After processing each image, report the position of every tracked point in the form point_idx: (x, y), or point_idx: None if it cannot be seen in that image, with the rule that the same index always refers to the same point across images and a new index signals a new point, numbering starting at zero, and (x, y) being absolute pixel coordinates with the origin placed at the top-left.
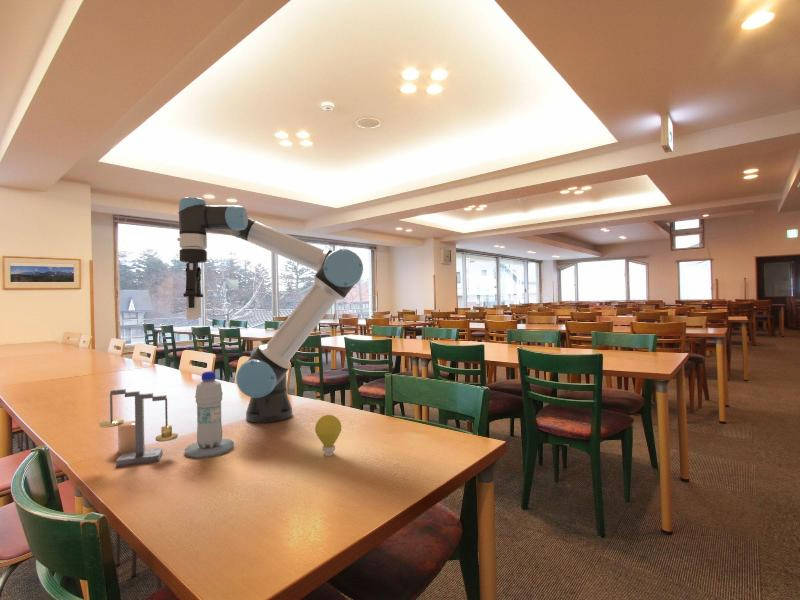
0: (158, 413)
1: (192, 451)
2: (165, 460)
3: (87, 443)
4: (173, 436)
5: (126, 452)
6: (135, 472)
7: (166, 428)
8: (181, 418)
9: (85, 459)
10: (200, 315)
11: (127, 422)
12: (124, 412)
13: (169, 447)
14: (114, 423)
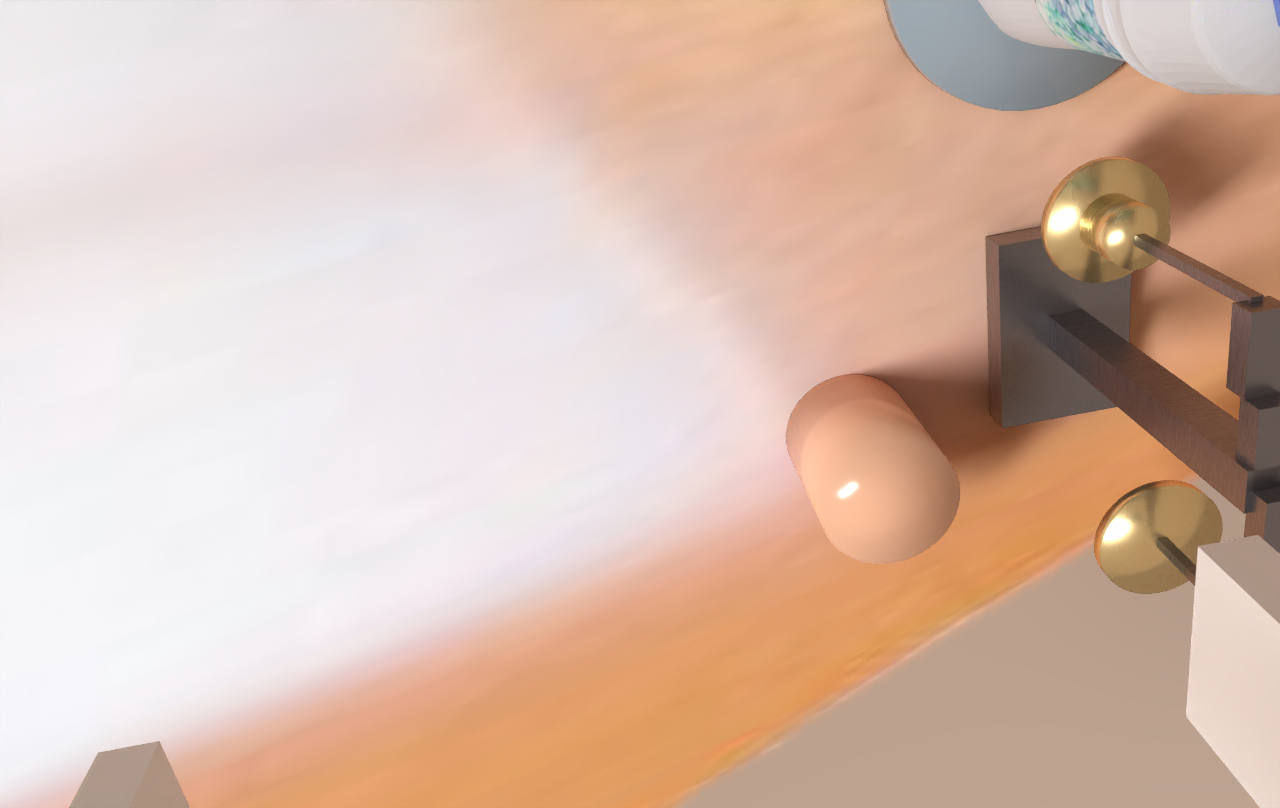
0: (41, 580)
1: None
2: None
3: (668, 685)
4: (1141, 175)
5: (1008, 409)
6: (1229, 270)
7: (1168, 229)
8: (203, 375)
9: (933, 576)
10: (148, 793)
11: (851, 536)
12: (3, 792)
13: (884, 233)
14: (1206, 512)
